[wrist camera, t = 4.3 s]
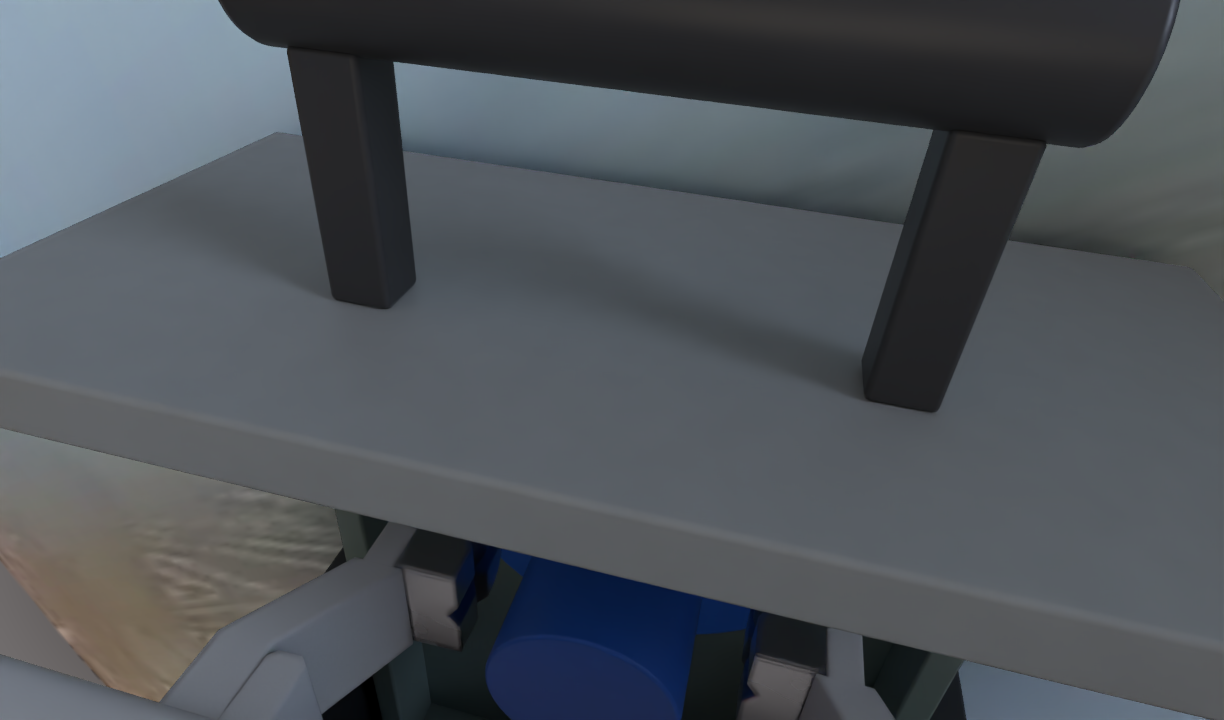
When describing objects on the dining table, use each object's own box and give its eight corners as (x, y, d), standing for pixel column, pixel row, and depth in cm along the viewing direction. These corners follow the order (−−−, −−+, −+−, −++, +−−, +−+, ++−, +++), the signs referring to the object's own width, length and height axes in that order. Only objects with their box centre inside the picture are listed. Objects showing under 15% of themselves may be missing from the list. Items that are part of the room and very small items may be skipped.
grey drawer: (223, -150, 10) (-518, -188, 5) (1376, -61, 8) (2777, 86, 2) (390, 679, 22) (240, 955, 16) (872, 814, 19) (892, 1192, 14)
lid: (449, 261, 12) (276, 437, 8) (913, 341, 11) (962, 592, 7) (472, 558, 17) (364, 765, 13) (806, 640, 15) (800, 899, 11)
